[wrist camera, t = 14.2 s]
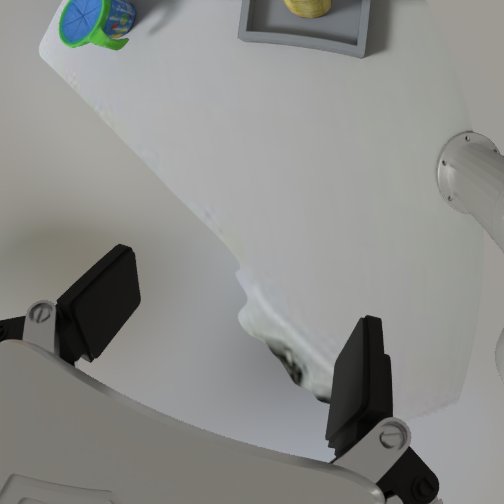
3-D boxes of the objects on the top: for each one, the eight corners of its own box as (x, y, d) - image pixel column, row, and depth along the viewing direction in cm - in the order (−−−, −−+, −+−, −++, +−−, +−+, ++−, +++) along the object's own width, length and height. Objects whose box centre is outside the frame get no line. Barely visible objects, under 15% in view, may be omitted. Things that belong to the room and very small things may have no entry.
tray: (369, -23, 22) (372, -32, 19) (361, 58, 29) (364, 55, 26) (255, -36, 24) (249, -45, 21) (245, 41, 32) (237, 37, 29)
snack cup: (159, 31, 33) (118, 24, 25) (115, 68, 38) (73, 71, 29) (128, -23, 27) (89, -34, 19) (89, 14, 32) (49, 11, 23)
